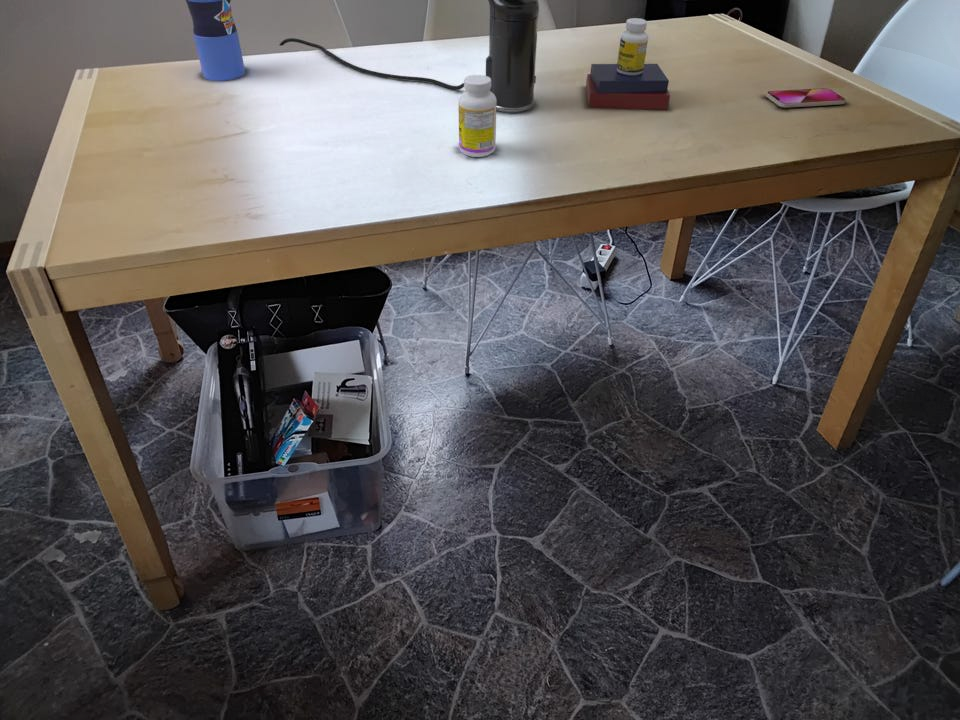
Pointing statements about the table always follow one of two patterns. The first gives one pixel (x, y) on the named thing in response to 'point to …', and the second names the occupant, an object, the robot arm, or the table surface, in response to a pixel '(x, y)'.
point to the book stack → (627, 88)
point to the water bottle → (216, 39)
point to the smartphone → (805, 97)
